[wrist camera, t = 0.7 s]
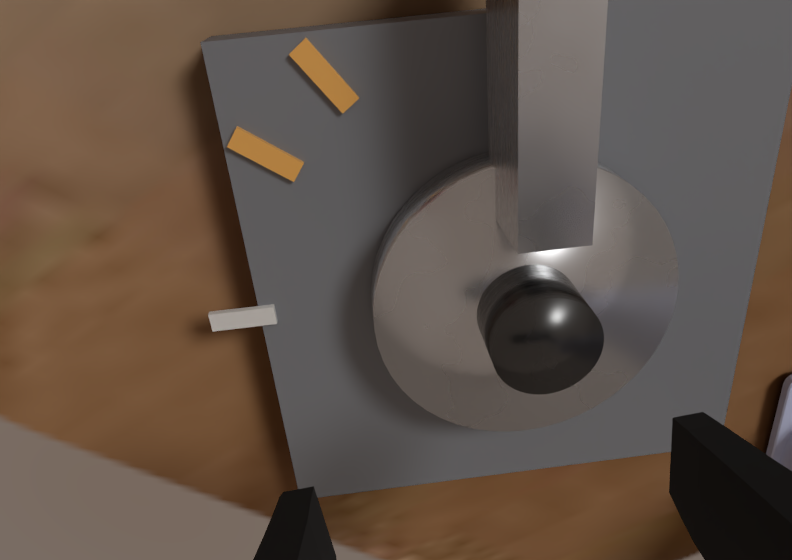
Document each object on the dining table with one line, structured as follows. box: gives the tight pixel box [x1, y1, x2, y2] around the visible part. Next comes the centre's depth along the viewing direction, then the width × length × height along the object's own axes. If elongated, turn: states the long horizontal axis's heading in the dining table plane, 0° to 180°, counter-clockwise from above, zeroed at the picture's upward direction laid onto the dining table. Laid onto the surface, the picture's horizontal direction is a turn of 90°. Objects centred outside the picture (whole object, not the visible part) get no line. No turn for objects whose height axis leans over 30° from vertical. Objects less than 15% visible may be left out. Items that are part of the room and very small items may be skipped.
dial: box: [371, 0, 679, 432], centre depth 16 cm, size 16×9×4 cm, turn 5°
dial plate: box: [201, 0, 792, 498], centre depth 20 cm, size 16×18×2 cm
